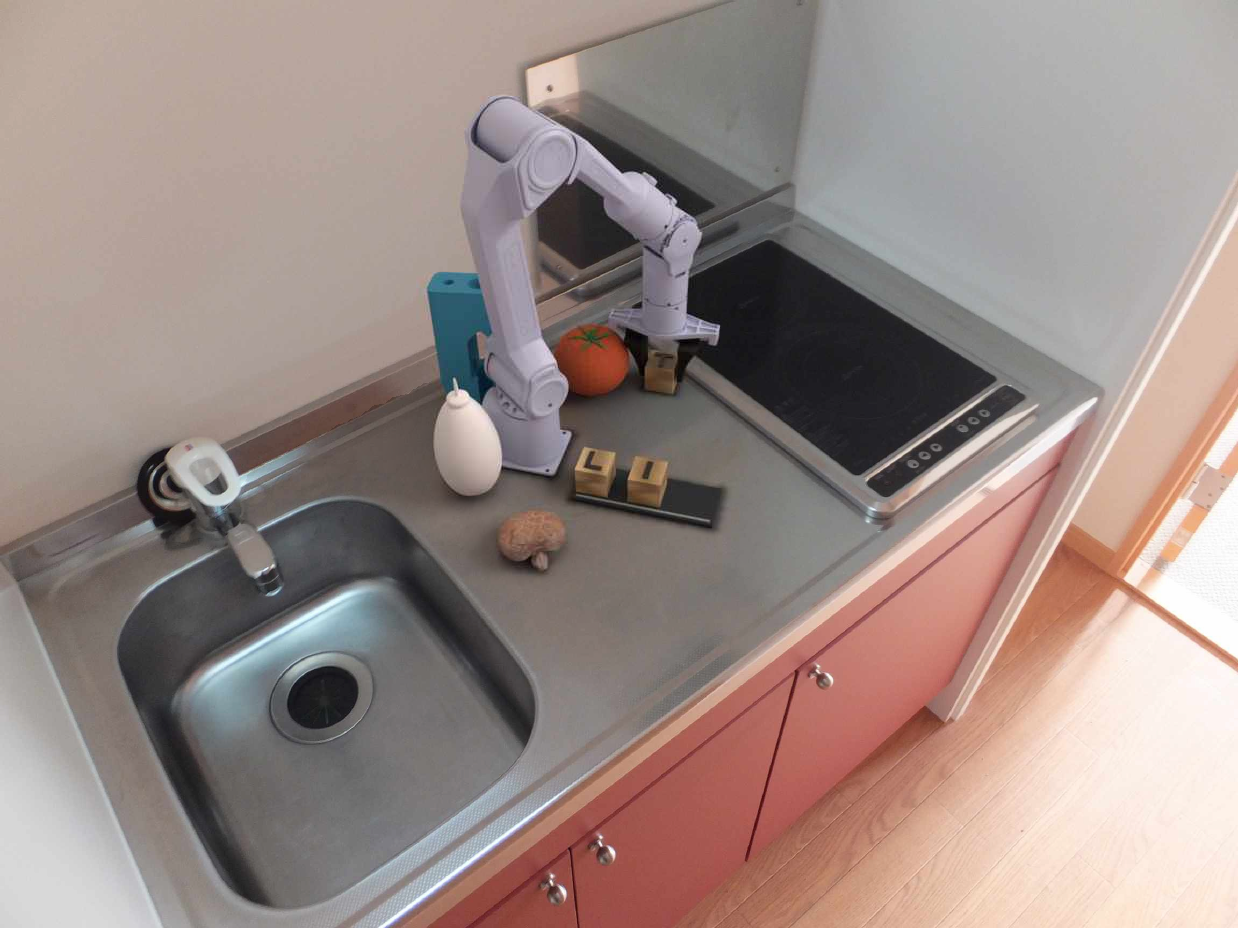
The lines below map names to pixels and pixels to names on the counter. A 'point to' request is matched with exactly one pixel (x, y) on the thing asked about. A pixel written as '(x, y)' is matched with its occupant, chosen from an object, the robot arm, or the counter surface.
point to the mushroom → (531, 536)
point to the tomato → (592, 359)
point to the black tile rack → (676, 503)
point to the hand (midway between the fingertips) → (662, 374)
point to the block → (459, 331)
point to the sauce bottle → (466, 445)
